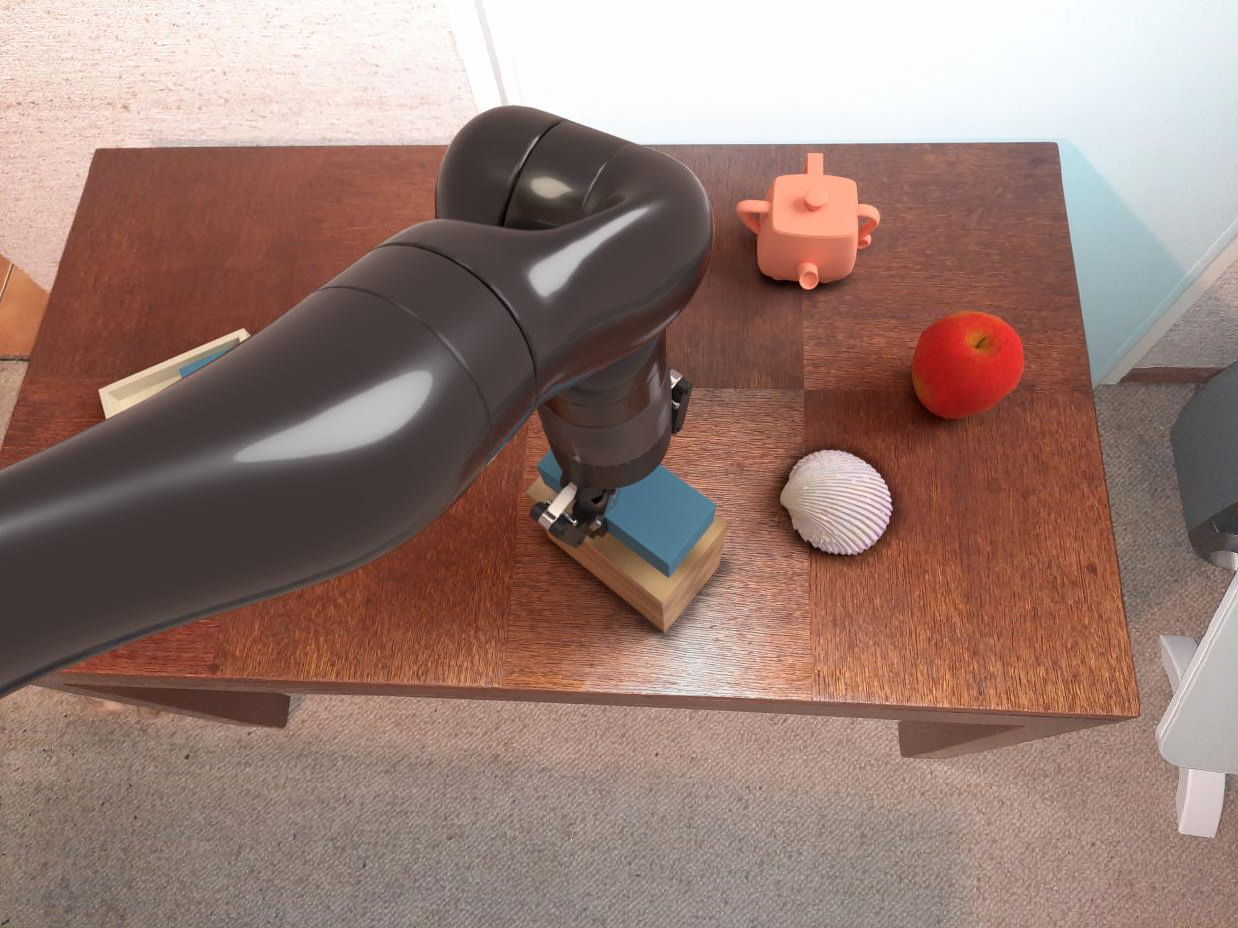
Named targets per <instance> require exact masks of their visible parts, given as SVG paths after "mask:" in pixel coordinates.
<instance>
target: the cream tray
mask: <svg viewBox="0 0 1238 928" xmlns="http://www.w3.org/2000/svg"><path fill="white" fill-rule="evenodd" d="M251 335H252V334H250V333H249V332H248V330H246V329H245V328H243V327H242V328H240V329H238V330H236V331H233V332H230V333H228V334H226V335H224V336H221V337H218V338H217V339H214V340H211V341H210V342H207V343H204V344H203V345H202V344H201V345H200V346H197V347H195V348H193V349H191V350H188V351H186V352H184V353H181V354H179V355H176V356H173V358H169V359H167V360H165V361H163V362H160V363H158V364H155V365H153V366H150V367H148V368H146V369H144V370H143V369H142V371H139V372H135V373H134V374H132V375H129V376H127V377H124V378H122V379H120V380H117V381H115V382H113V383H111V384H107V385H106V386H104V387H101V388H98V395H99V398H100V402H101V406H102V409H103V412H104V416H105V420H106V419H108V418H110V417H112V416H114V415H116V414H118V413H120V412H122V411H124V410H125V409H127V408H129V407H131V406H133V405H135V404H137V403H139V402H141V401H143V400H145V399H147V398H149V397H151V396H152V395H154V394H156V393H158V392H160V391H161V390H163V389H165V388H166V387H168V386H170V385H172V384H173V383H175V382H177V381H178V380H180V379H182V378H181V375H180V371H179V369H181V368H183V367H186V366H188V365H190V364H193V363H195V362H197V361H200V360H202V359H204V358H207V357H209V356H211V355H214V354H216V353H218V352H221V351H223V350H225V349H228V348H233V347H234V346H236V345H237V344H239V343H240V342H242V341H243V340H245V339H246V338H248V337H250V336H251Z"/></svg>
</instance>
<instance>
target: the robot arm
mask: <svg viewBox="0 0 1238 928" xmlns="http://www.w3.org/2000/svg"><path fill="white" fill-rule="evenodd" d="M439 165H440V166H439V169H438V171H437V175H436V180H435V188H434V219H429V220H425V221H421V222H418V223H414V224H413V225H410V226H408V227H406V228H404V229H401V230H400V231H398V232H397V233H395V234H392V235H391V236H390V237H388V238H386V239H385V240H383V241H382V242H380V243H379V244H377V245H376V246H374V247H373V248H372V249H370V250H369V251H368V252H366V253H365V254H363V255H362V256H360V257H359V258H358V259H356V260H355V261H353V262H352V263H351V264H350V265H348V266H346V267H345V268H344V269H342V270H341V271H340V272H337V274H335V275H333V276H332V277H331V278H330V279H328V280H327V281H326V282H324V283H323V284H321V285H320V286H318V287H317V288H316V289H314V290H312V292H310V293H309V294H308V295H306V296H304V297H303V298H302V299H301V300H299V301H298V302H296V303H295V304H293V305H292V306H291V307H289V308H288V309H286V310H285V311H284V312H282V313H281V314H280V315H279V316H277V317H276V318H274V319H273V320H272V321H270V322H269V323H268V324H266V325H265V326H264V327H262V328H260V329H259V330H257V331H256V332H254V333H253V334H250V335H251V336H250V337H248V338H246V339H245V340H243V341H242V342H240V343H239V344H237V345H236V346H234V347H233V348H231V349H229V350H228V351H226V352H225V353H223V354H222V355H220V356H219V357H217V358H216V359H214V360H212V361H211V362H209V363H207V364H206V365H204V366H202V367H201V368H199V369H197V370H195V371H194V372H192V373H190V374H189V375H187V376H185V377H184V378H182V379H180V380H178V381H177V382H175V383H173V384H172V385H170V386H168V387H166V388H165V389H163V390H161V391H160V392H158V393H156V394H154V395H152V396H151V397H149V398H147V399H145V400H143V401H141V402H139V403H137V404H135V405H133V406H131V407H129V408H127V409H125V410H124V411H122V412H120V413H118V414H116V415H114V416H112V417H110V418H108V419H106V418H105V419H104V420H102V421H100V422H98V423H96V424H94V425H91V426H89V427H87V428H85V429H83V430H81V431H79V432H77V433H75V434H73V435H70V436H69V437H67V438H65V439H63V440H61V441H59V442H57V443H55V444H53V445H49V447H46V448H44V449H42V450H40V451H37V452H35V453H33V454H31V455H29V456H27V457H24V458H22V459H20V460H18V461H16V462H14V463H12V464H9V465H7V466H5V467H3V468H1V469H0V701H1V700H3V699H4V698H6V697H8V696H10V695H12V694H14V693H16V692H18V691H20V690H22V689H24V688H26V687H28V686H31V685H32V684H35V683H36V682H39V681H42V680H43V679H45V678H47V677H49V676H52V675H54V674H56V673H59V672H61V671H63V670H66V669H69V668H71V667H73V666H76V665H79V664H82V663H84V662H86V661H89V660H91V659H94V658H96V657H99V656H102V655H104V654H107V653H109V652H112V651H114V650H116V649H119V648H123V647H124V646H127V645H129V644H132V643H135V642H138V641H141V640H144V639H146V638H147V639H148V638H150V637H153V636H157V635H159V634H162V633H166V632H168V631H169V632H170V631H171V630H175V629H178V628H180V627H184V626H187V625H190V624H193V623H196V622H199V621H203V620H206V619H209V618H213V617H215V616H219V615H223V614H226V613H230V612H233V611H237V610H240V609H244V608H247V607H250V606H253V605H257V604H260V603H263V602H266V601H270V600H273V599H276V598H279V597H283V596H285V595H288V594H291V593H294V592H298V591H300V590H304V589H307V588H310V587H313V586H317V585H320V584H322V583H325V582H329V581H332V580H335V579H337V578H340V577H342V576H345V575H348V574H350V573H352V572H355V571H358V570H361V569H362V568H364V567H367V566H368V565H370V564H372V563H374V562H376V561H379V560H381V559H382V558H385V557H387V556H388V555H390V554H391V553H394V552H395V551H397V550H398V549H400V548H401V547H403V546H405V545H406V544H408V543H409V542H411V541H412V540H414V539H415V538H416V537H418V536H419V535H420V534H421V533H423V532H424V531H425V530H427V529H428V528H430V527H431V526H432V525H433V524H435V523H436V522H437V521H438V520H439V519H441V518H442V517H444V515H445V514H446V513H447V512H448V511H450V510H451V508H452V507H453V506H454V505H455V504H456V503H457V502H458V501H459V500H460V499H461V498H463V496H464V495H465V494H466V493H467V491H468V490H469V489H470V488H471V486H472V485H473V484H475V482H476V481H477V480H478V478H480V476H481V475H482V474H483V472H484V471H485V470H486V469H487V468H488V467H489V465H490V464H491V463H492V462H493V461H494V459H495V458H496V457H497V456H498V455H499V453H500V452H501V451H503V449H504V448H505V447H506V445H507V444H508V443H509V442H510V441H511V440H512V438H513V437H514V436H515V435H516V434H517V432H518V431H519V430H520V429H521V428H522V427H523V425H524V424H525V423H526V422H527V421H528V420H529V418H530V417H531V416H533V414H534V413H535V412H537V414H538V417H539V420H540V423H541V427H542V431H543V433H544V435H545V436H546V440H547V442H548V444H549V447H550V449H551V450H552V453H553V455H554V457H555V459H556V461H557V463H558V465H559V466H560V468H561V470H562V474H561V477H560V486H561V488H562V491H561V492H560V493H559V495H558V496H557V497H556V498H555V500H554V501H552V500H551V499H548V500H547V501H546V503H543V502H542V501H539V502H538V503H536V504H535V505H534V506H532V507H531V508H530V511H529V513H528V516H529V518H531V519H532V520H533V521H534V522H536V524H538V525H539V526H541V527H542V528H543V529H544V530H545V529H546V530H547V531H548V532H549V533H550V534H552V535H553V536H554V537H555V538H557V539H558V540H560V541H562V542H564V543H566V544H568V545H570V546H572V547H574V548H577V547H579V546H580V545H582V544H583V542H584V541H585V540H584V539H585V538H586V535H587V536H588V537H590V538H591V539H594V538H595V537H596V536H597V535H599V536H600V537H602V538H603V537H604V535H605V534H606V533H607V532H608V531H609V530H608V526H607V522H606V518H605V515H606V514H607V513H608V512H609V511H610V510H611V509H612V508H614V507H615V506H616V503H617V500H618V497H619V494H620V491H621V489H622V488H623V487H626V486H630V485H632V484H635V483H637V482H639V481H641V480H643V479H644V478H646V477H647V476H648V475H650V474H651V473H652V472H653V471H654V470H655V469H656V468H657V467H658V466H659V464H661V465H662V462H663V460H664V459H665V457H666V455H667V453H668V450H669V447H670V445H671V440H672V435H673V436H676V435H677V434H678V433H680V432H681V431H682V430H683V427H684V424H685V420H686V417H687V413H688V408H689V404H690V400H691V397H692V392H693V388H694V383H693V382H692V381H690V380H689V379H688V378H686V377H685V376H684V375H683V374H681V373H680V372H678V371H676V369H674V368H672V367H671V366H669V364H668V359H667V328H668V327H669V326H670V325H671V324H672V323H673V322H674V321H675V320H676V319H677V317H678V316H679V315H680V314H681V313H682V312H683V311H684V309H686V307H687V305H688V304H689V303H690V302H691V300H692V299H693V298H694V296H695V294H696V293H697V291H698V289H699V288H700V286H701V283H703V280H704V278H705V275H706V272H707V270H708V268H709V265H710V262H711V258H712V256H713V255H712V254H713V250H714V244H715V237H716V236H715V233H716V231H715V230H716V229H715V228H716V227H715V225H716V224H715V216H714V212H713V207H712V203H711V200H710V197H709V195H708V193H707V191H706V189H705V187H704V185H703V183H702V182H701V180H700V179H699V178H698V177H697V175H696V174H695V173H694V171H693V170H691V168H689V167H688V166H687V165H685V164H684V163H683V162H681V161H679V160H678V159H676V158H674V157H673V156H671V155H669V154H667V153H665V152H662V151H659V150H656V149H653V148H650V147H649V146H645V145H642V144H639V143H636V142H634V141H631V140H628V139H625V138H622V137H619V136H616V135H613V134H610V133H608V132H605V131H602V130H599V129H596V128H593V127H590V126H587V125H585V124H581V123H579V122H575V121H573V120H570V119H568V118H566V117H562V116H559V115H557V114H554V113H552V112H548V111H545V110H542V109H539V108H536V107H531V106H526V105H518V104H517V105H516V104H512V105H511V104H510V105H501V106H496V107H492V108H490V109H488V110H486V111H483V112H481V113H479V114H477V115H475V116H474V117H472V118H471V119H470V120H469V121H467V123H466V124H464V125H463V126H462V128H461V129H459V131H458V132H457V133H456V134H455V136H454V137H453V138H452V139H451V141H450V142H449V145H448V146H447V149H446V151H445V152H444V155H443V157H442V160H441V162H440V164H439ZM546 530H545V531H546Z"/></svg>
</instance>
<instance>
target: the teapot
mask: <svg viewBox="0 0 1238 928" xmlns="http://www.w3.org/2000/svg"><path fill="white" fill-rule="evenodd" d="M805 158H806V159H805V162H804V167H803V171H802V173H800V174H799V173H798V174H796V173H795V174H784V175H779V176H776V178H775V179H774V180H773V181H772V182H771V185H770V186H769V188H768V190H767V191H766V194H765V197H764V198H763V200H757V199H746V200H741V201H739V202H738V203H737V204H736V206H735V214H736V216H737V218H738V219H739V221H740V222H741V223H742V224H743V225H744V226H746V227H747V228H748V229H749V230H750V231H752V232H753V233H754V234H756V235H757V237H756V238H757V240H756V253H757V264H758V268H759V270H760V271H761V273H762V274H763V275H765V276H767V277H770V278H772V279H773V280H776V281H783V280H786V281H793V282H799V285H800V286H801V288H803V289H804V290H812V289H815V287H817V285H818V284H819V283H823V284H828V283H830V282H835V281H840V280H842V279H844V278H846V277H848V276H849V275H850V274H851V273H852V271H853V269H854V266H855V263H856V259H857V251H858V250H863V249H866V248H868V247H869V246H870V244H871V243H872V237H871V234H872V232H874V230H876V228H878V226H879V224H880V219H881V216H880V212H879V210H878V209H877V208H876V207H874V206H873V205H870V204H868V203H867V204H866V203H859V201H858V200H859V199H858V187H857V183H856V181H855V180H853V179H851V178H848V177H847V178H846V177H842V176H837V175H830V174H829V175H827V174H824V153H819V152H808V153H807V154H806V157H805ZM753 214H759V220H757V219H756V218H755V216H754V215H753ZM859 217H863V218H868V219H870V220H868V221H867V222H866V223H864V224H863V225H862V226H861V227H860V221H859V219H860V218H859Z"/></svg>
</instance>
